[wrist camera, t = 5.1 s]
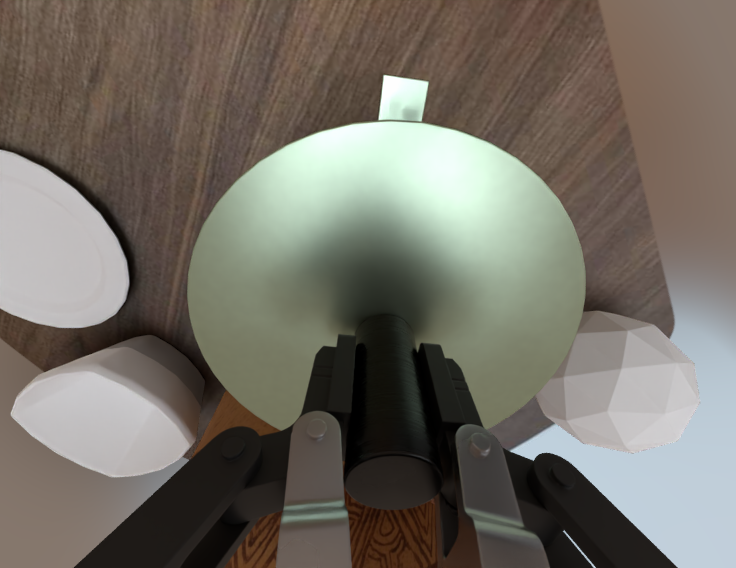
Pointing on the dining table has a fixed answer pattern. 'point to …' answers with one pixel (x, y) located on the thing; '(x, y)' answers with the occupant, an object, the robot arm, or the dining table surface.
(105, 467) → the bowl
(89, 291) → the plate
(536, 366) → the lid
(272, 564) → the pot
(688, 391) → the geometric shape
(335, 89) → the dining table surface
